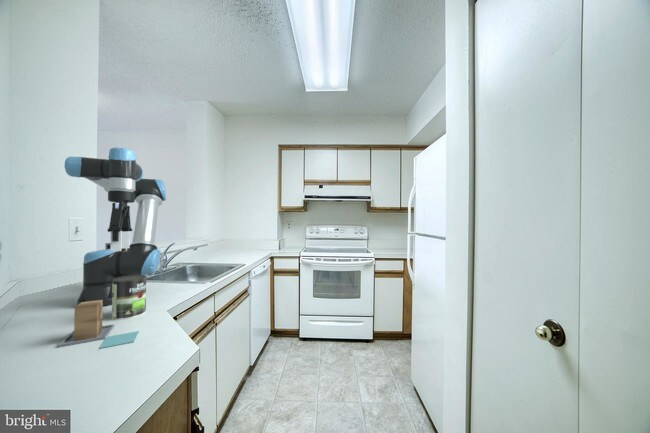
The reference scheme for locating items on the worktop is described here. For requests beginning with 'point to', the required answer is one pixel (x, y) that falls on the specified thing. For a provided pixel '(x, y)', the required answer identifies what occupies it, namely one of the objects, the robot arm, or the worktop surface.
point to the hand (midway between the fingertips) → (120, 249)
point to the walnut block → (88, 320)
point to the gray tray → (70, 339)
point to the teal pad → (119, 339)
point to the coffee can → (128, 297)
